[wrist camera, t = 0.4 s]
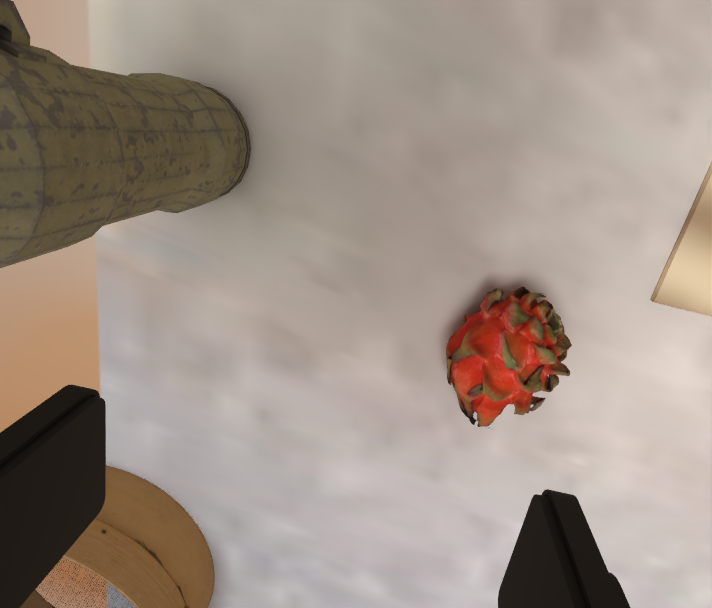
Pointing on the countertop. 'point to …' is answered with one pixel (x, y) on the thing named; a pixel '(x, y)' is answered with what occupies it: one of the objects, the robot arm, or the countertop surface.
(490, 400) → the dragon fruit
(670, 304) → the maple board
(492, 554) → the countertop surface
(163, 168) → the thermos
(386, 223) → the countertop surface
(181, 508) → the steamer basket
